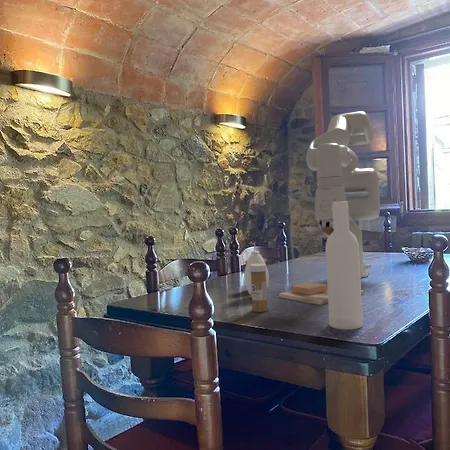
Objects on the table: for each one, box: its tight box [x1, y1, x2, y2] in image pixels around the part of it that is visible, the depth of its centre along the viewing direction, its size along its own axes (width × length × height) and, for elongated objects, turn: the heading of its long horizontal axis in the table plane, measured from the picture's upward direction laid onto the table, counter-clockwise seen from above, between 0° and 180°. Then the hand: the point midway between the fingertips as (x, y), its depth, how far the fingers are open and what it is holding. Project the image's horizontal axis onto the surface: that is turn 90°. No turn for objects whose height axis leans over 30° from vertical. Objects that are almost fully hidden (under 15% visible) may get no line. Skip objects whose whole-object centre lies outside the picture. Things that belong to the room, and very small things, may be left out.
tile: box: [291, 282, 327, 295], centre depth 147 cm, size 2×8×8 cm
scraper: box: [303, 226, 334, 241], centre depth 141 cm, size 15×5×4 cm, turn 123°
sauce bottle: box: [244, 242, 270, 296], centre depth 148 cm, size 8×8×18 cm
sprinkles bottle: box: [250, 264, 269, 313], centre depth 130 cm, size 5×5×14 cm
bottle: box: [325, 201, 364, 331], centre depth 109 cm, size 8×8×30 cm
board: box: [278, 286, 365, 306], centre depth 146 cm, size 20×18×1 cm
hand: (332, 241), depth 142 cm, fingers closed on scraper, 3 cm apart
